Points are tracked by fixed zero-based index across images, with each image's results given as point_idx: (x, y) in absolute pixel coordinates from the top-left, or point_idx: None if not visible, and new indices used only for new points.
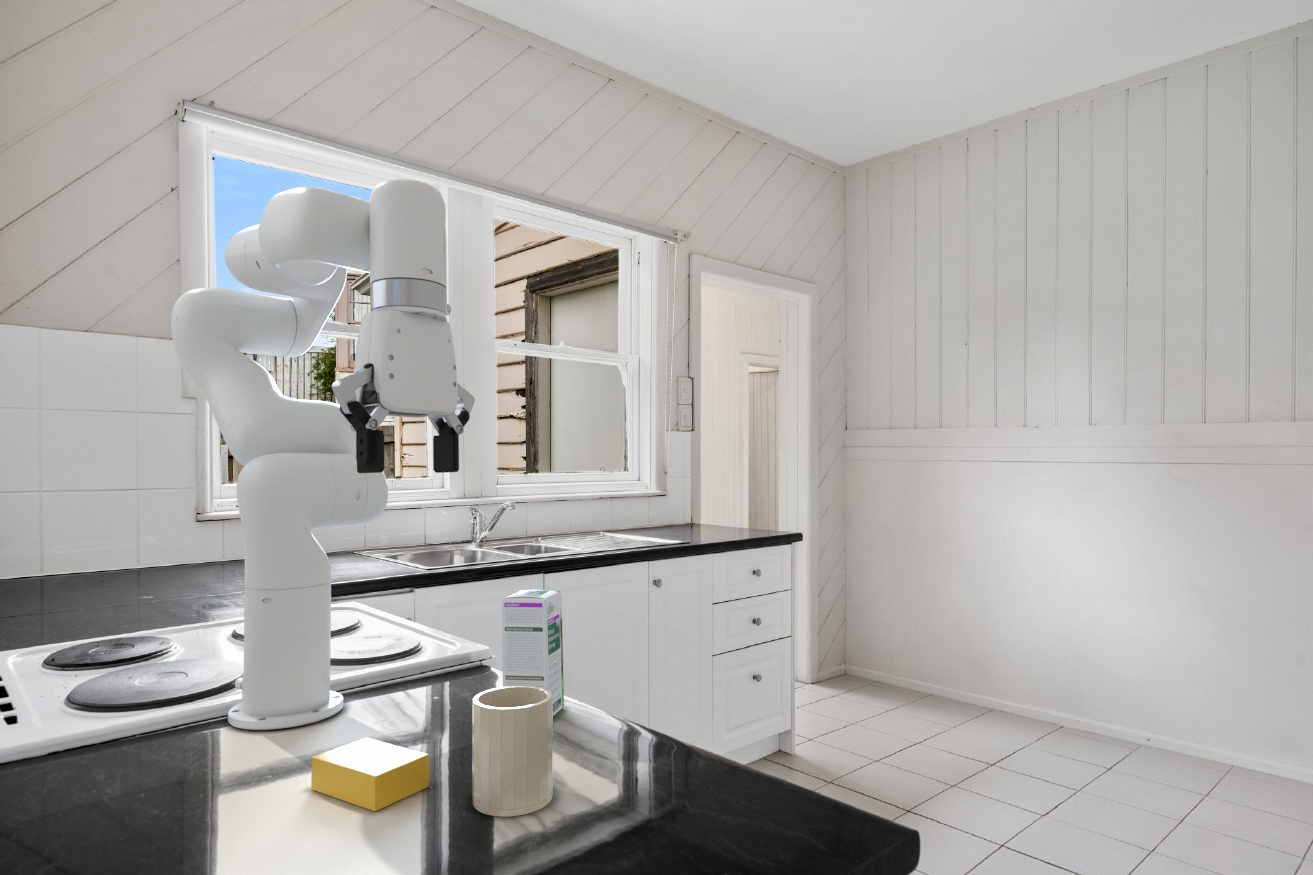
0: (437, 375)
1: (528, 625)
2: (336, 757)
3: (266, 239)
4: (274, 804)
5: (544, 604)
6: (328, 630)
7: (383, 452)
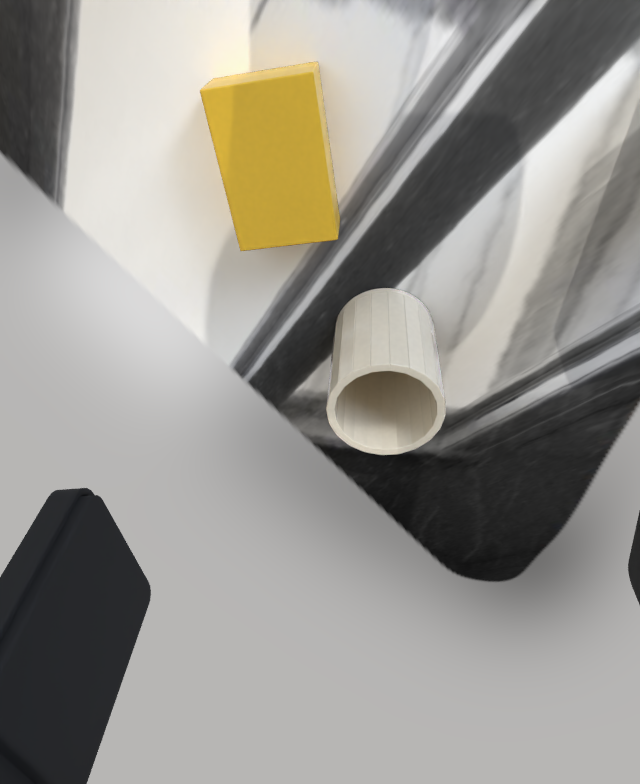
0: None
1: None
2: (229, 131)
3: None
4: (152, 87)
5: None
6: None
7: (118, 677)
